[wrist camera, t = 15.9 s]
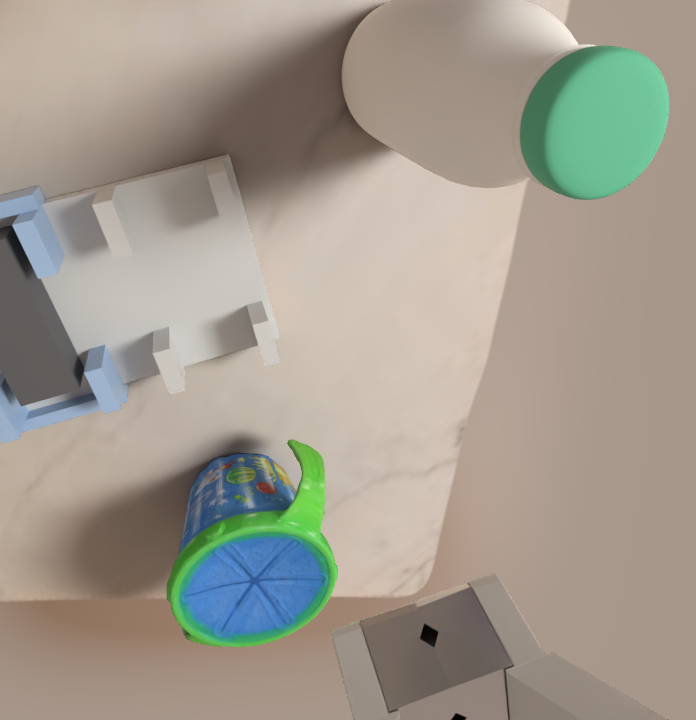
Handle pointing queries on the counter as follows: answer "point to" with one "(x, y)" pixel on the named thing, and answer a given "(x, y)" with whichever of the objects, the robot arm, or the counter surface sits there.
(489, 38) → the milk bottle
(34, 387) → the long gray rectangular prism
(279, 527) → the snack cup
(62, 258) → the pegged tray
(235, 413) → the counter surface
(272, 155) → the counter surface
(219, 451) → the counter surface
